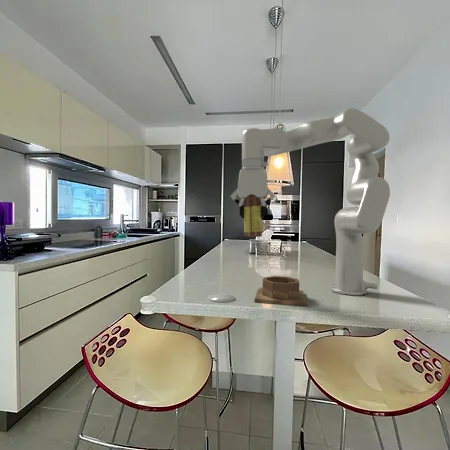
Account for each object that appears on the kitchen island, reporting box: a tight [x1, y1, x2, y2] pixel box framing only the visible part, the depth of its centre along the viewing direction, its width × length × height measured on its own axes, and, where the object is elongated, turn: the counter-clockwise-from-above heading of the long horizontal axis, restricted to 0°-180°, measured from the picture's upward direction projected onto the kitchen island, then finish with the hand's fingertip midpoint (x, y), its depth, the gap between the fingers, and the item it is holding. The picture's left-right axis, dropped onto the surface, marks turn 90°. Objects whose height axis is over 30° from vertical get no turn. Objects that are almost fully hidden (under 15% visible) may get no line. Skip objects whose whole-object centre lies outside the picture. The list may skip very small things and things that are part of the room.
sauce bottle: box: [243, 194, 263, 238], centre depth 99 cm, size 7×6×20 cm
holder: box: [254, 275, 308, 307], centre depth 97 cm, size 16×16×6 cm
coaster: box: [207, 293, 236, 304], centre depth 94 cm, size 9×9×1 cm
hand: (252, 217), depth 99 cm, fingers closed on sauce bottle, 6 cm apart
